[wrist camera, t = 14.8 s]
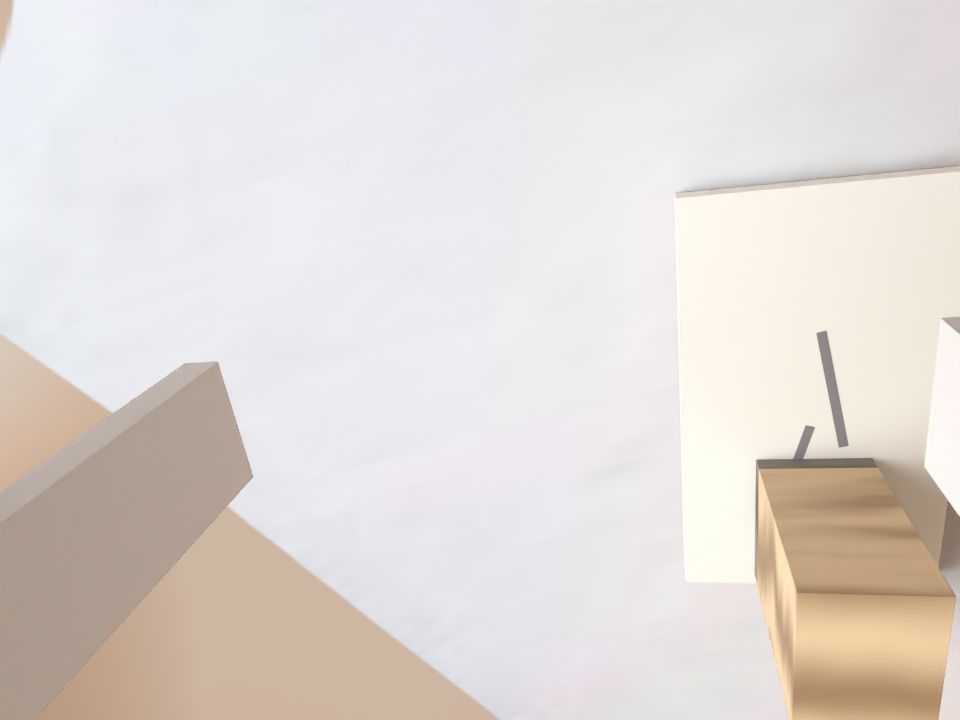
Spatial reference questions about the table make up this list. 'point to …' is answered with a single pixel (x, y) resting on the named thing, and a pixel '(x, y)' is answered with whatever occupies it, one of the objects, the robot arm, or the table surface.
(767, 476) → the block
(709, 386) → the board
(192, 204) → the table surface
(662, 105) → the table surface
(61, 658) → the robot arm
